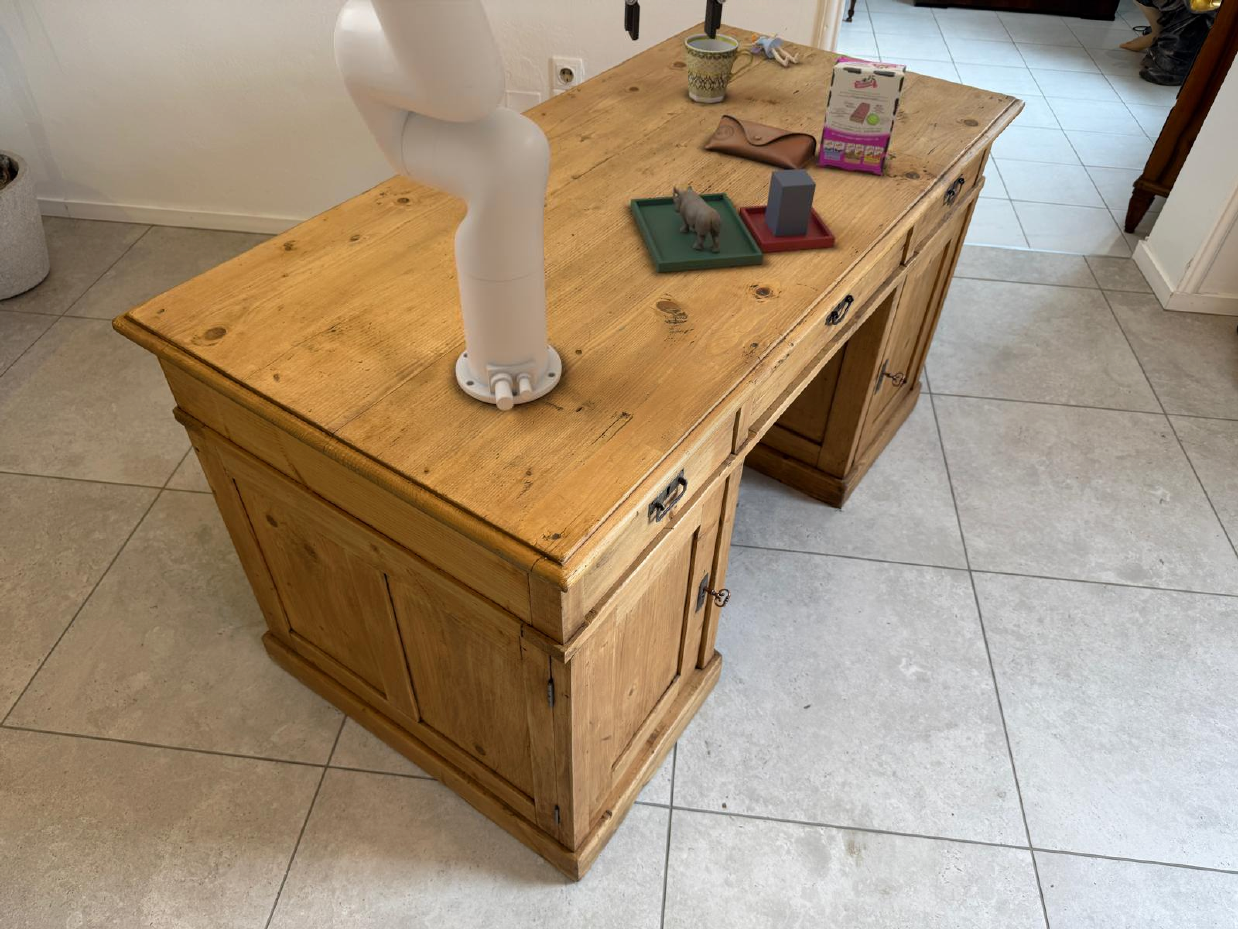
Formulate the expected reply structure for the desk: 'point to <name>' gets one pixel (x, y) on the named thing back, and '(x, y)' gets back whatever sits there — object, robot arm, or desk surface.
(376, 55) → the robot arm
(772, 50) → the fairy figurine
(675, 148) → the desk surface
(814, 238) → the burgundy tray
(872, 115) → the candy bar box
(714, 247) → the rhino figurine
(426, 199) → the desk surface
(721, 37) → the ceramic cup
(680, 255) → the green tray
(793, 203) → the block
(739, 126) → the sunglasses case
